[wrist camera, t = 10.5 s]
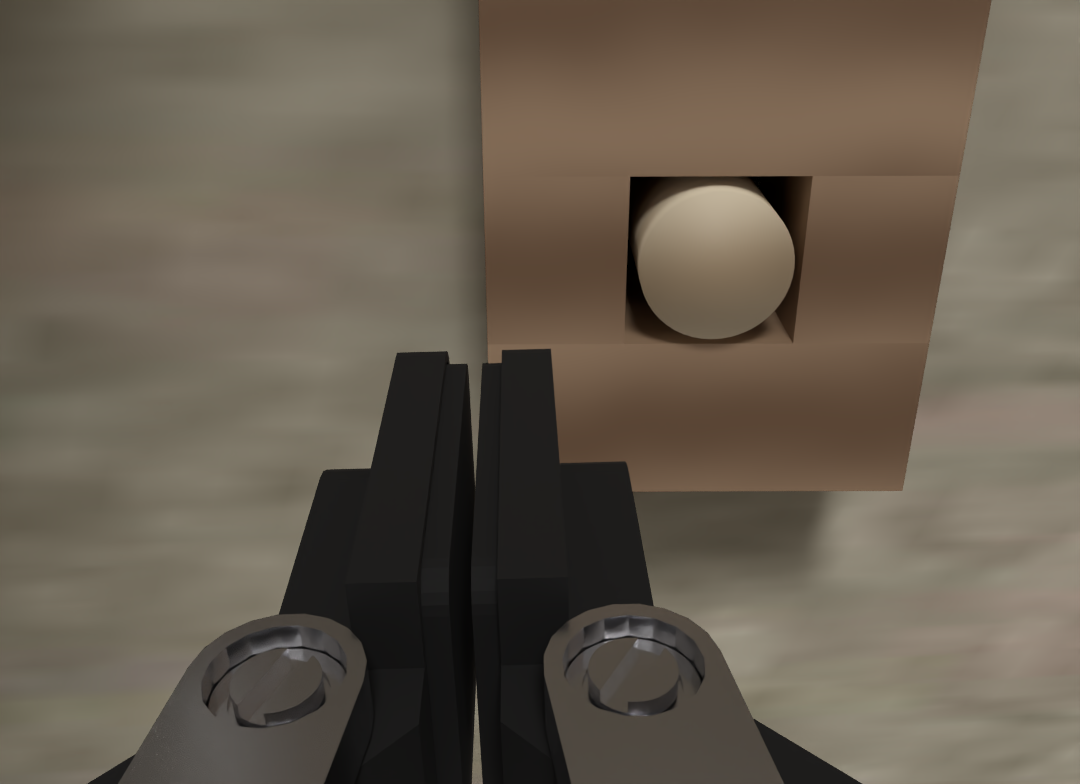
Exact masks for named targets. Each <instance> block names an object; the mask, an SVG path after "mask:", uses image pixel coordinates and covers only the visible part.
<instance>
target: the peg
mask: <svg viewBox="0 0 1080 784" xmlns="http://www.w3.org/2000/svg"><path fill="white" fill-rule="evenodd" d="M628 238H629V241H630V245H631V249H632V253H633V257H634V261H635V264H636V268H637V272H638V276H639V280H640V283H641V287H642V290H643V294H644V296H645V299H646V301H647V303H648V305H649V306H650V308H651V309H652V311H653V312H654V313H655V314H656V316H657V317H658V318H659V319H660V320H661V321H663V322H664V323H665V324H666V325H667V326H669V327H671V328H672V329H674V330H675V331H678V332H680V333H682V334H685V335H688V336H691V337H695V338H701V339H722V338H727V337H732V336H735V335H739V334H742V333H744V332H746V331H748V330H750V329H752V328H754V327H756V326H757V325H759V324H760V323H762V322H763V321H764V320H765V319H767V318H768V317H769V316H770V315H771V314H772V313H773V312H774V311H775V310H776V308H777V307H778V306H779V305H780V303H781V302H782V300H783V299H784V297H785V296H786V293H787V291H788V289H789V287H790V284H791V281H792V278H793V273H794V267H795V254H794V247H793V243H792V239H791V236H790V234H789V231H788V229H787V228H786V226H785V224H784V223H783V221H782V220H781V218H780V217H779V216H778V214H777V213H776V212H775V210H774V209H773V207H772V206H771V205H770V203H769V202H768V201H767V199H766V198H765V196H764V195H763V194H762V192H761V191H760V190H759V188H758V187H757V186H756V184H755V183H754V181H753V180H752V179H751V177H750V176H640V177H630V195H629V222H628Z"/></svg>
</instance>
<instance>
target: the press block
mask: <svg viewBox="0 0 1080 784" xmlns="http://www.w3.org/2000/svg"><path fill="white" fill-rule="evenodd" d="M990 6H991V0H479V37H480V75H481V113H482V150H483V188H484V226H485V264H486V302H487V340H488V363H502V350H519V349H551V356H552V369H553V382H554V395H555V408H556V421H557V434H558V447H559V460H560V463H581V462H616V461H625V462H626V463H627V466H628V470H629V476H630V481H631V486H632V492H670V491H902V490H903V484H904V479H905V473H906V468H907V462H908V457H909V451H910V446H911V440H912V435H913V429H914V424H915V418H916V413H917V407H918V402H919V396H920V391H921V385H922V380H923V374H924V369H925V363H926V358H927V352H928V347H929V341H930V336H931V330H932V325H933V319H934V314H935V308H936V303H937V297H938V292H939V286H940V281H941V275H942V270H943V264H944V259H945V253H946V248H947V242H948V237H949V231H950V226H951V220H952V215H953V209H954V204H955V198H956V193H957V187H958V182H959V176H960V171H961V165H962V160H963V154H964V149H965V143H966V138H967V132H968V127H969V121H970V116H971V110H972V105H973V99H974V94H975V88H976V83H977V77H978V72H979V66H980V61H981V55H982V50H983V44H984V39H985V33H986V28H987V22H988V17H989V11H990ZM640 176H760V185H759V190H760V191H761V192H762V194H763V195H764V196H765V198H766V199H767V201H768V202H769V203H770V205H771V206H772V207H773V209H774V210H775V212H776V213H777V214H778V216H779V217H780V218H781V220H782V221H783V223H784V224H785V226H786V228H787V229H788V231H789V234H790V236H791V239H792V243H793V247H794V254H795V267H794V273H793V278H792V281H791V284H790V287H789V289H788V291H787V293H786V296H785V297H784V299H783V300H782V302H781V303H780V305H779V306H778V307H777V308H776V310H775V311H774V312H773V313H772V314H771V315H770V316H769V317H768V318H767V319H765V320H764V321H763V322H762V323H760V324H759V325H757V326H756V327H754V328H752V329H750V330H748V331H746V332H744V333H742V334H739V335H735V336H732V337H727V338H722V339H701V338H695V337H691V336H688V335H685V334H682V333H680V332H678V331H675V330H674V329H672V328H671V327H669V326H667V325H666V324H665V323H664V322H663V321H661V320H660V319H659V318H658V317H657V316H656V314H655V313H654V312H653V311H652V309H651V308H650V306H649V305H648V303H647V301H646V299H645V296H644V294H643V290H642V287H641V283H640V280H639V276H638V272H637V269H631V270H627V248H628V222H629V195H630V177H640Z"/></svg>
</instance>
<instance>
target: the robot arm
mask: <svg viewBox="0 0 1080 784" xmlns="http://www.w3.org/2000/svg"><path fill="white" fill-rule="evenodd" d="M476 684H477V699H478V715H479V731H480V746H481V762H482V778H483V784H862V783H860V782H858V781H857V780H855V779H853V778H852V777H850V776H848V775H847V774H845V773H843V772H842V771H840V770H838V769H837V768H835V767H833V766H832V765H830V764H828V763H827V762H825V761H823V760H822V759H820V758H818V757H817V756H815V755H813V754H812V753H810V752H808V751H807V750H805V749H803V748H802V747H800V746H798V745H797V744H795V743H793V742H792V741H790V740H788V739H787V738H785V737H783V736H782V735H780V734H778V733H777V732H775V731H773V730H772V729H770V728H768V727H767V726H765V725H763V724H762V723H760V722H758V721H757V720H755V719H753V718H752V715H751V713H750V711H749V709H748V707H747V705H746V703H745V701H744V699H743V697H742V695H741V692H740V690H739V688H738V686H737V684H736V682H735V680H734V678H733V676H732V674H731V671H730V669H729V667H728V665H727V663H726V661H725V659H724V657H723V655H722V653H721V651H720V649H719V648H718V646H717V645H716V644H715V642H714V641H713V639H712V638H711V637H710V635H709V634H708V633H707V632H706V631H705V630H703V629H702V628H701V627H699V626H698V625H697V624H695V623H694V622H693V621H691V620H690V619H689V618H686V617H684V616H682V615H679V614H677V613H674V612H672V611H670V610H667V609H665V608H659V607H654V605H653V600H652V595H651V589H650V584H649V578H648V573H647V567H646V562H645V557H644V551H643V546H642V540H641V535H640V530H639V524H638V519H637V513H636V508H635V503H634V497H633V492H632V486H631V481H630V476H629V470H628V466H627V463H626V462H625V461H616V462H581V463H560V460H559V447H558V434H557V421H556V408H555V395H554V382H553V369H552V356H551V349H519V350H502V363H483V365H482V382H481V399H480V417H479V435H478V452H477V470H476V487H475V478H474V461H473V443H472V426H471V409H470V391H469V375H468V366H467V364H450V363H449V356H448V352H447V351H445V352H408V353H397V355H396V359H395V364H394V368H393V373H392V377H391V381H390V386H389V390H388V395H387V399H386V404H385V408H384V412H383V417H382V421H381V426H380V430H379V435H378V439H377V444H376V448H375V452H374V457H373V461H372V466H371V468H370V469H334V470H325V471H323V473H322V475H321V478H320V480H319V483H318V487H317V490H316V493H315V497H314V500H313V503H312V506H311V510H310V513H309V516H308V520H307V523H306V526H305V530H304V533H303V536H302V540H301V543H300V546H299V549H298V553H297V556H296V559H295V563H294V566H293V569H292V573H291V576H290V579H289V583H288V586H287V589H286V593H285V596H284V599H283V603H282V606H281V609H280V612H279V615H274V616H270V617H266V618H262V619H257V620H253V621H250V622H248V623H245V624H243V625H241V626H239V627H236V628H234V629H232V630H230V631H228V632H225V633H224V634H223V635H221V636H220V637H219V638H217V639H216V640H214V641H213V642H212V643H210V644H209V645H208V646H206V647H205V648H204V649H203V650H202V651H201V652H200V653H199V655H198V656H197V657H196V658H195V659H194V661H193V662H192V663H191V664H190V666H189V667H188V668H187V670H186V672H185V673H184V675H183V677H182V678H181V680H180V682H179V683H178V685H177V687H176V688H175V690H174V692H173V693H172V695H171V697H170V698H169V700H168V702H167V703H166V705H165V707H164V708H163V710H162V712H161V713H160V715H159V717H158V718H157V720H156V722H155V723H154V725H153V726H152V728H151V730H150V731H149V733H148V735H147V736H146V738H145V740H144V741H143V743H142V745H141V746H140V748H139V750H138V751H137V753H136V754H135V755H133V756H132V757H130V758H128V759H127V760H125V761H124V762H122V763H120V764H119V765H117V766H115V767H114V768H112V769H111V770H109V771H107V772H106V773H104V774H102V775H101V776H99V777H98V778H96V779H94V780H93V781H91V782H89V783H88V784H472V762H473V738H474V715H475V692H476Z"/></svg>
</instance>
